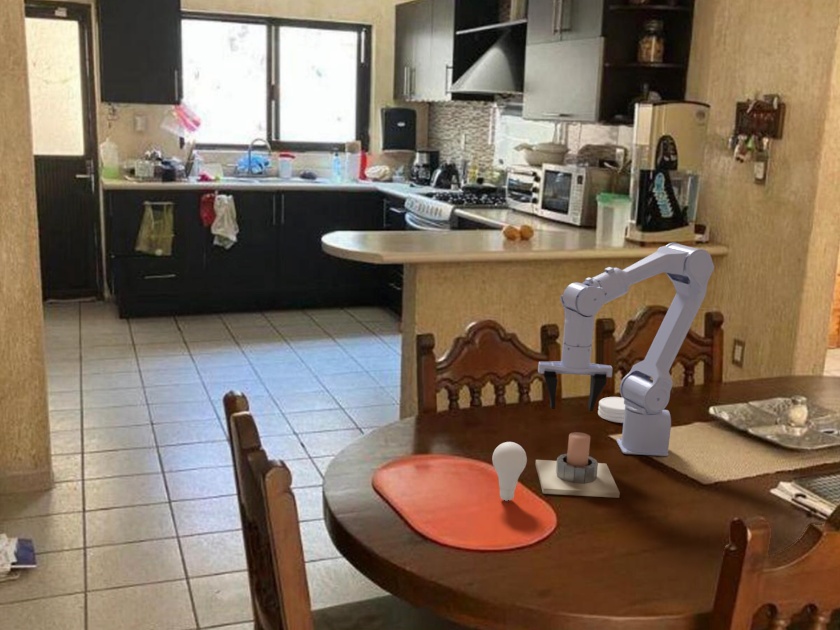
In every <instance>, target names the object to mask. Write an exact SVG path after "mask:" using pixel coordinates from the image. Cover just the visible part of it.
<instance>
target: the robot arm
mask: <svg viewBox="0 0 840 630" xmlns="http://www.w3.org/2000/svg"><path fill="white" fill-rule="evenodd" d="M714 270H715V265H714V262H713V259H712V255H711V254H710V252H709V251H708V250H706V249H704V248H696V247H692V246H688V245H684V244H681V243H678V242H669V243H668V244H666V245H663V246H660V247H658V248H657V250H656V251H655V252H653V253H651V254H650V255H647V256H646V257H644V258H641V259H640V260H639V261H637V262H635V263H633V264H631V265H629V266H627V267H625V268H623V269H621V268H619V267H611V266H608V267H606V268H604V272H602V273H600V274H598V275H597V274H596V275H595V276H593V277H587V278H585V279H584V281H583V282H582V283H581V282H572V283H570V284H569V285H568V286H566V288H565V289H564V290H563V293H562V294H561V295H560V297H559V298H560V303H561V305H562V307H563V309H564V311H563V312H564V325H563V337H562V348H561V360H559V361H538V365H537V372H538V374H543V377H544V379H545V384H546V387H547V390H548V395H549V401H550V402H549V403H550V404H549V406H550V409H551V410H555V409H556V394H557V386H558V379H557V378H558V377H557V374H559V375H560V374H561V375H563V374H564V375H580V376H590V385H589V396H588V402H587V404H588V405H587V409H588V410H589V412H594V409H595V406H596V402H597V400H598V398H599V396H600V394H601V392H602V390H603V389H604V387H605V386H606V384H607V383H608V382H607V381H608V379H607V378H612V377H613V367H612V365H608V364H601V363H600V364H599V363H593V362H591V359H592V358H591V357H592V349H593V336H594V324H595V316H596V315H597V314H598V313H599V311H600V310H601V309H602V306H604V305H605V304H608V303H609V302H612V301H613V300H616V299H617V298H620V297H622V296H624V295H626V294H627V293H629V290H630V287H631V286H632V285H634V284H637V283H640V282H642V281H645V280H647V279H650V278H652V277H654V276H658V275H660V274H662V273H665V274H666V276H667V277H668V278H669V280H670V281H671V283H672V284H673V287H674V289H675V291H676V293H675V295H674V297H673V298H672V301H671V304H670V305H669V307H668V309H667V312H666V314H665V315H664V318H663V320H662V322H661V324H660V326H659V328H658V330H657V332H656V335H655V337H654V338H653V341H652V343H651V345H650V346H649V349H648V351H647V353H646V355H645V356H644V359H643V360H641V361H639V362H637V363H635V364H633V365H632V367H631V369H630V371H629V372H627V374H625V376H624V377H623V378H622V379H621V381H620V384H619V394H620V396H621V397H622V398H624V404H625V412H624V422H623V423H622V431H621V432H622V433H621V434H622V435H621V438H616V440H615V441H616V443H617V445H618V446H619V448H620V450H621V452H622V453H623V454H625V455H637V456H638V455H640V456H641V455H642V456H659V457H669V455H670V454H669V445H670V440H671V439H670V437H671V430H672V417H671V416H672V415H671V414H670V411H669V410H668V409H665V408H666V407H667V406H668V404H669V402H670V398H671V397H670V396H671V391H672V388H673V385H674V381H673V379H672V376H671V373H670V369H671V367H672V365H673V363H674V362H675V359H676V357H677V355H678V353H679V352H680V349H681V347H682V345H683V343H684V340H685V338H686V337H687V335H688V332H689V331H690V328H691V326H692V324H693V322H694V320H695V318H696V316H697V314H698V311H699V310H700V308H701V306H702V304H703V302H704V299H705V298H706V296H707V290H708V289H707V288H708V282H709V279H710V278H711V276H712V274H713V272H714ZM650 378H652V379H650Z"/></svg>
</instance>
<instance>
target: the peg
mask: <svg viewBox="0 0 840 630" xmlns="http://www.w3.org/2000/svg"><path fill="white" fill-rule="evenodd" d="M590 444H591V435H590V434H587V433H585V432H579V431H578V432H577V431H575V432H571V433H569V434H568V443H567V453H566V454H567V464H569V465H573V466H582V467H584V466H588V457H589V456H590V447H591V445H590Z"/></svg>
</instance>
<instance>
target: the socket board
mask: <svg viewBox="0 0 840 630" xmlns="http://www.w3.org/2000/svg"><path fill="white" fill-rule="evenodd" d="M534 466H535V468H536V472H537V475H538V479H539V483H540V487H541V490H542V494H545V495H547V494H548V495H564V496H581V497H582V496H583V497H599V498H600V497H601V498H602V497H603V498H615V499H617V498H620V495H621V493H620V491H619V488H618V486H617V484H616V482H615V479H614V477H613V475H612V473H611V471H610V469H609V466H608V465H607V463H604V462H603V463H601V462H598V461H597V459H595V458H594V457H592V456H590V455H589V457H588V466H584V467H582V466H573V465H569V464H567V453H563V454H560V455H558V457H557V458H556V460H548V459H535V465H534Z"/></svg>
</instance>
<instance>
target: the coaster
mask: <svg viewBox="0 0 840 630" xmlns="http://www.w3.org/2000/svg"><path fill="white" fill-rule="evenodd" d="M597 408H598V410H597V414H598V416H599V417H600V418H602V419H604V420H606V421H609V422H613V423H618V424H619V423H620V424H623V422H624V412H625V404H624V398H623V397H622V396H621V397H620V396H609V397H608V396H607V397H604V398H601V399H600V400H599V401H598V407H597Z"/></svg>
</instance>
